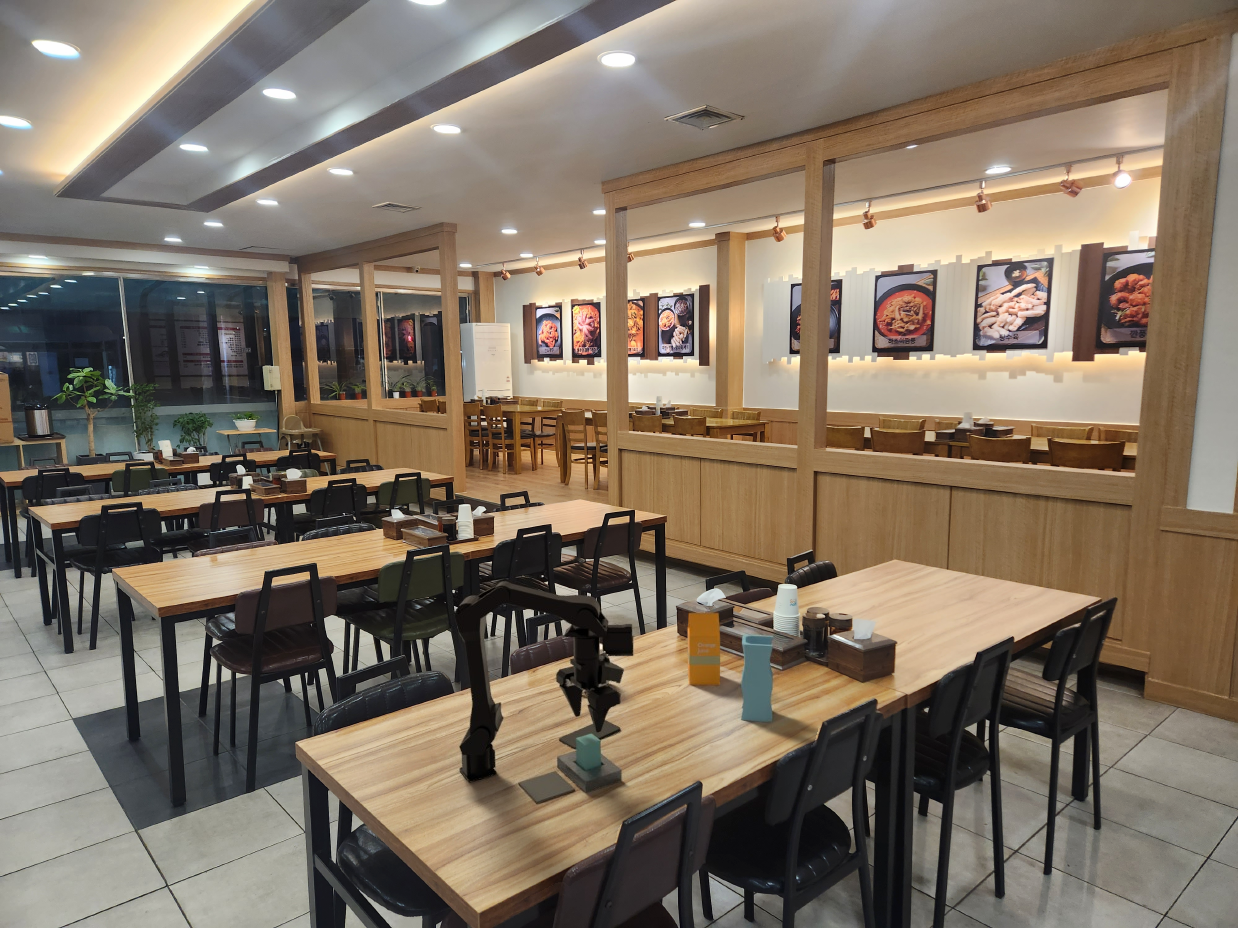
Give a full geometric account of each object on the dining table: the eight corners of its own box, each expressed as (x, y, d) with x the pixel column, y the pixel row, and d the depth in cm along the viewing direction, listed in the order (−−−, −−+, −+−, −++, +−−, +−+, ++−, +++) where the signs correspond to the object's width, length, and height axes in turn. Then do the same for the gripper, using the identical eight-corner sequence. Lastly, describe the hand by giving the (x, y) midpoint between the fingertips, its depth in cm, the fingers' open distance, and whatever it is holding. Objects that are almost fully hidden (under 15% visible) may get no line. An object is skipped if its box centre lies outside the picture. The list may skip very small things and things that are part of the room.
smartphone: (556, 738, 183) (603, 718, 193) (556, 741, 183) (603, 721, 193) (575, 748, 178) (622, 727, 188) (576, 752, 178) (622, 731, 188)
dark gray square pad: (536, 803, 155) (536, 801, 155) (518, 784, 163) (518, 782, 163) (574, 790, 160) (574, 788, 160) (555, 772, 168) (555, 770, 168)
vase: (772, 722, 191) (773, 646, 189) (741, 719, 193) (741, 644, 191) (772, 709, 199) (773, 635, 197) (742, 706, 201) (742, 634, 198)
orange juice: (720, 684, 215) (720, 616, 213) (689, 684, 216) (689, 617, 214) (717, 674, 223) (717, 608, 221) (687, 674, 223) (687, 608, 221)
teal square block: (585, 780, 164) (584, 745, 164) (576, 772, 168) (575, 737, 167) (601, 774, 166) (600, 740, 166) (592, 767, 170) (591, 733, 169)
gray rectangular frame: (585, 792, 159) (585, 781, 159) (557, 766, 170) (557, 756, 170) (621, 780, 164) (621, 769, 164) (591, 755, 175) (591, 745, 175)
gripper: (641, 660, 161) (641, 730, 162) (596, 636, 177) (597, 700, 178) (596, 671, 155) (597, 744, 157) (554, 645, 171) (555, 711, 172)
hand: (587, 723), depth 166 cm, fingers open, 9 cm apart
